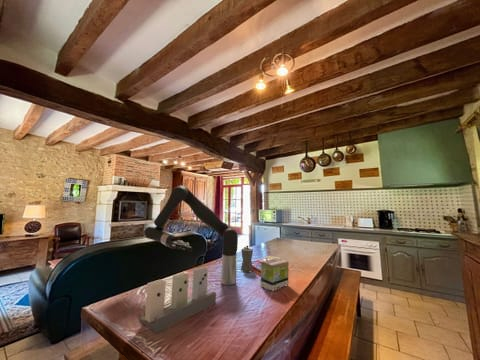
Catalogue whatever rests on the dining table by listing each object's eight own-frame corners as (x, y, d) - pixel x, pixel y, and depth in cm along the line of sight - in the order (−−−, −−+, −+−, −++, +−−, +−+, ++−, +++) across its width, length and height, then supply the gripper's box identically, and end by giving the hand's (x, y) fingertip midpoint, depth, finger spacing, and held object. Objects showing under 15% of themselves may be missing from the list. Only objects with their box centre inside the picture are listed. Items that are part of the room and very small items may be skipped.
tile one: (144, 318, 82) (147, 283, 84) (158, 313, 86) (160, 279, 88) (150, 323, 79) (152, 285, 81) (163, 316, 84) (166, 281, 85)
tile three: (192, 298, 100) (193, 269, 102) (201, 294, 105) (202, 267, 107) (197, 301, 98) (199, 271, 99) (207, 297, 102) (208, 268, 104)
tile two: (170, 307, 91) (172, 275, 93) (182, 303, 96) (183, 272, 97) (176, 311, 88) (178, 278, 90) (187, 306, 93) (189, 274, 95)
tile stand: (140, 320, 83) (141, 307, 84) (198, 295, 107) (199, 285, 107) (156, 333, 75) (157, 319, 75) (215, 303, 99) (216, 292, 99)
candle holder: (281, 274, 143) (281, 257, 144) (277, 278, 134) (277, 260, 136) (268, 272, 147) (268, 255, 149) (264, 276, 138) (264, 258, 140)
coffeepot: (255, 272, 145) (255, 247, 148) (242, 273, 143) (243, 247, 146) (249, 266, 160) (250, 243, 163) (238, 266, 158) (238, 243, 160)
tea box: (273, 292, 113) (273, 265, 115) (260, 286, 120) (260, 261, 122) (288, 285, 123) (288, 260, 124) (276, 281, 130) (276, 257, 132)
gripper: (176, 246, 125) (196, 255, 116) (159, 246, 114) (180, 257, 105) (180, 234, 126) (200, 242, 117) (163, 233, 115) (184, 243, 106)
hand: (191, 249), depth 111 cm, fingers closed
